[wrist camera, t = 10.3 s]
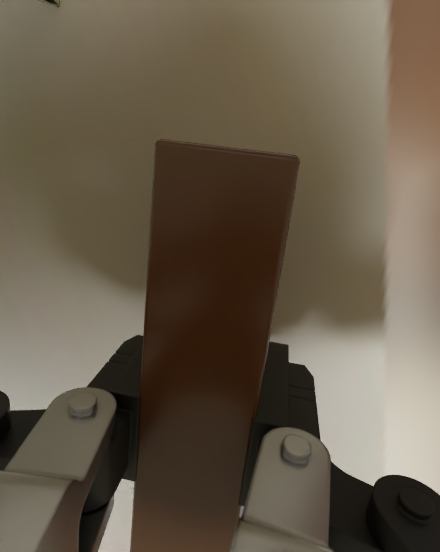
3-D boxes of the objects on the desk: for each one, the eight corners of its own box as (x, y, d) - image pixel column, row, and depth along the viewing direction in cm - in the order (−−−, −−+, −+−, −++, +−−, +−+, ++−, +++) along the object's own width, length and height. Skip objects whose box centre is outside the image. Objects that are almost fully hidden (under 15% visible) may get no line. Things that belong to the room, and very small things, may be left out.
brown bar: (191, 143, 10) (136, 136, 6) (307, 157, 10) (320, 157, 6) (149, 616, 16) (106, 761, 12) (223, 636, 15) (203, 792, 12)
